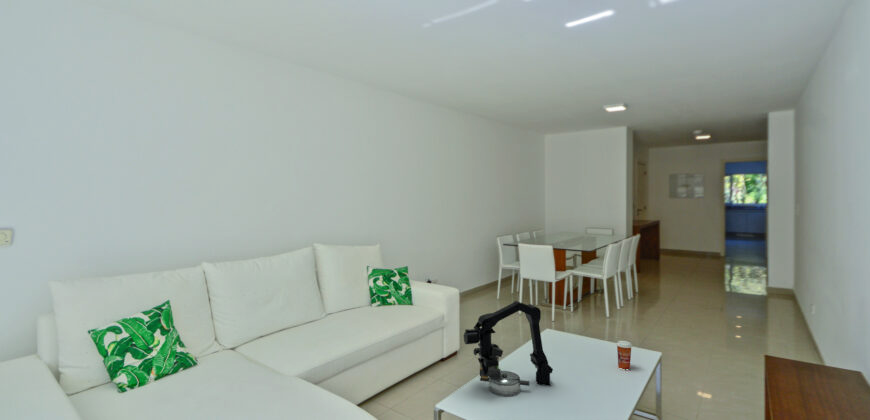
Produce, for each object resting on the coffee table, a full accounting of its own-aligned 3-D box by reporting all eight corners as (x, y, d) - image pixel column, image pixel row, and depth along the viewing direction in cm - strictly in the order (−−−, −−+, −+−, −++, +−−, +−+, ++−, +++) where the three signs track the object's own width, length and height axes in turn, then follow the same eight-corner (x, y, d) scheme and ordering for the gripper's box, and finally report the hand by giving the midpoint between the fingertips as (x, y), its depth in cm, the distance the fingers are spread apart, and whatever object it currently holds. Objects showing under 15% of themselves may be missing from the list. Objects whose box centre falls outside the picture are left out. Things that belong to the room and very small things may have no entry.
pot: (529, 385, 204) (529, 375, 204) (529, 399, 190) (529, 388, 190) (482, 380, 210) (482, 370, 210) (478, 393, 195) (478, 383, 195)
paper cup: (616, 369, 222) (616, 344, 221) (616, 364, 229) (616, 339, 229) (632, 372, 219) (632, 346, 218) (631, 366, 226) (631, 341, 226)
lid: (519, 373, 206) (519, 364, 206) (520, 386, 191) (520, 376, 191) (480, 371, 209) (480, 362, 209) (479, 383, 194) (479, 374, 194)
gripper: (508, 347, 192) (509, 380, 192) (493, 335, 210) (493, 365, 210) (486, 349, 189) (486, 383, 189) (473, 337, 207) (473, 368, 207)
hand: (485, 374), depth 199 cm, fingers closed
